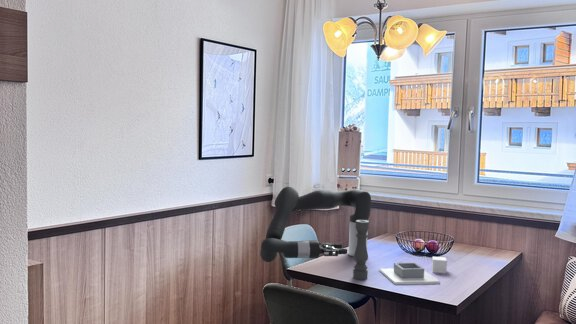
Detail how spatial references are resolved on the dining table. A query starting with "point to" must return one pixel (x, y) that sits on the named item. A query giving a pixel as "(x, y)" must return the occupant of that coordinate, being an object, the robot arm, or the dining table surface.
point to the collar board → (408, 274)
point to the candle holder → (361, 250)
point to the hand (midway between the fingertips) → (344, 248)
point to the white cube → (439, 264)
